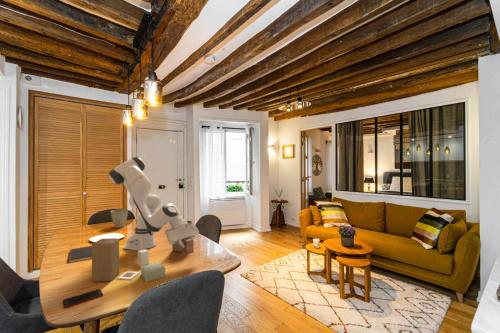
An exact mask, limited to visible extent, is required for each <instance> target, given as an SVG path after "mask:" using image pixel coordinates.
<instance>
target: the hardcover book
mask: <svg viewBox="0 0 500 333" xmlns="http://www.w3.org/2000/svg"><path fill="white" fill-rule="evenodd" d="M67 260H68V261H67V263H68V264H69V263H75V262H81V261H86V260H92V245H89V246H83V247H77V248H76V247H75V248H71V249H69V254H68V259H67Z"/></svg>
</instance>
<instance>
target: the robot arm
mask: <svg viewBox="0 0 500 333" xmlns="http://www.w3.org/2000/svg"><path fill="white" fill-rule="evenodd" d="M145 168H146V164H145V162H144V160H143V159H142V158H140V157H139V156H134V157H132V158H130V159H127V160H125V161H123V162H122V163H121V164H119V165H118V166H116V167H115V168H112V169H111V170H110V171H109V172H108V176H109V180H110V181H111V183H113V184H115V185H121V184H123V185H124V187H125V189H126V190H127V191H128V193H129V195H130V196H129V199H128V204H129V206H131V207H133V208H135V209H137V210H138V212H139V215H137V218H136V227H135V228H134V229H133V232H134V233H132V235H130V236H129V237H128V238H127V240H126V242H125V244H124V245H123V246H122V249H124V250H125V249H126V250H132V251H140V250H143V249H146V250H148V249H150V248H151V249H152V248H153V247H155V246H156V241H155V233H157V232H159V231H160V230H162V229H163V227H164V226H166V225H167V224H168V223H169V226H170V228H169V229H168V228H167V229H166V230H165V231H164V235H165V236H166V239H167V242H168V244H169V245H172V244H174V243H177V242H178V243H179V244H180V245H182V247H183V248H184V247H185V246H186V245H185V243H182V241H183V239H186V238H191V239H193V245H194V244H195V242H194V238H197V237H198V236H199V234H200V230H199V228H198V227H197V226H196V225H195V224H194V222H193V220H188V219H184V218H183V216H182V214H181V212H180V210H179V208H178V207H177V206H176V205H175V203H173V202H171V203H167V204H164V205H162V199H161V197H160V196H159V195H158V194H154V193H151V190H152V182H151V180H150V179H149V177H148V176H147V175H146V174H145V173H144V170H145ZM161 205H162V206H161ZM160 206H161V207H160Z"/></svg>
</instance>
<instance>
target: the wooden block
mask: <svg viewBox="0 0 500 333" xmlns="http://www.w3.org/2000/svg"><path fill="white" fill-rule="evenodd" d="M91 246H92V258H91V280H92V282H96V283H97V282H111V281H113V279H114V278H116V277H118V275H119V274H120V239H118V238H106V239H100V240H98V241H97V242H92V244H91Z"/></svg>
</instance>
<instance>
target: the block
mask: <svg viewBox="0 0 500 333" xmlns="http://www.w3.org/2000/svg"><path fill="white" fill-rule="evenodd" d="M182 243H183V241H182ZM171 250H172V251H173V252H178V253H179V252H180V253H183V247H182V245H180V244H179V243H178V242H177V243H174V244H171Z"/></svg>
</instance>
